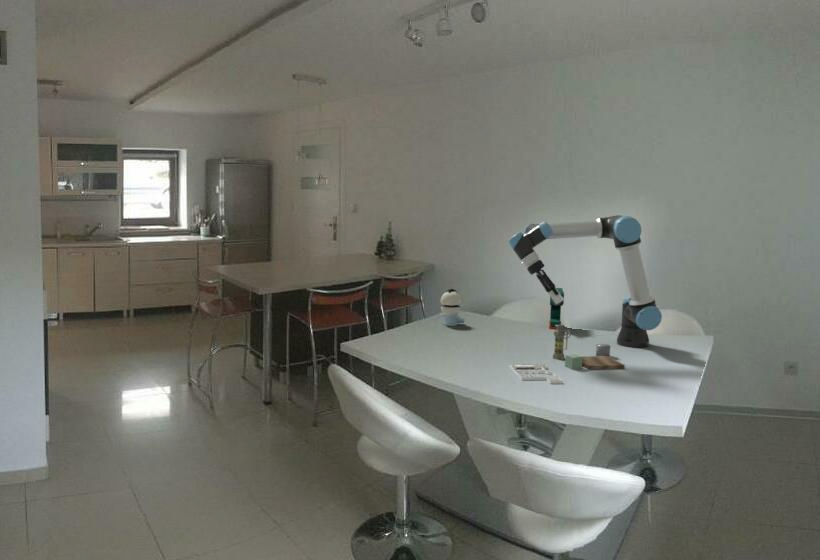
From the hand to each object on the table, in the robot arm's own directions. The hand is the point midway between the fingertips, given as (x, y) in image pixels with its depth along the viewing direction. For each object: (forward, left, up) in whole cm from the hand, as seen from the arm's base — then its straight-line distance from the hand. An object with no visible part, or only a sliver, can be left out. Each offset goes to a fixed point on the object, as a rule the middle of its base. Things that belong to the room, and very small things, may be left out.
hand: (560, 302), depth 308 cm
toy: (+36, -71, -24) cm, 83 cm away
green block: (+2, +23, -24) cm, 34 cm away
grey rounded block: (-19, +5, -24) cm, 31 cm away
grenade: (+2, +8, -24) cm, 26 cm away
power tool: (-19, -57, -24) cm, 65 cm away
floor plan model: (+22, +33, -25) cm, 47 cm away
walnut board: (-11, +19, -24) cm, 33 cm away
